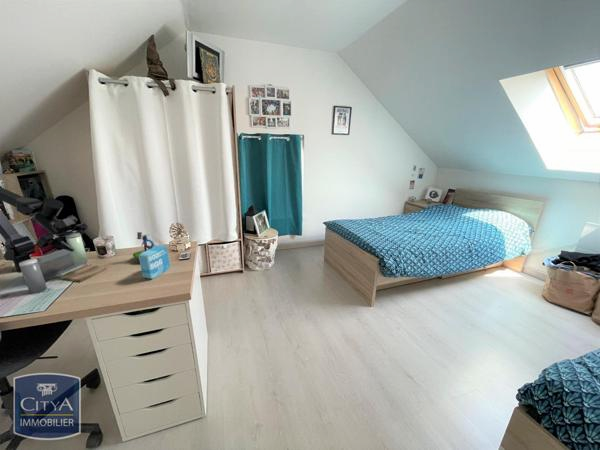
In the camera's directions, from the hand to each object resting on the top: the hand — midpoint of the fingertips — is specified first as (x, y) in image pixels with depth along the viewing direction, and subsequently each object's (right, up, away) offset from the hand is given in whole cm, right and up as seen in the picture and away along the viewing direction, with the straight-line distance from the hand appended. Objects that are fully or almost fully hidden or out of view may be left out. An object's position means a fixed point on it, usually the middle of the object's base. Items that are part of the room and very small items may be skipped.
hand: (79, 248), depth 110 cm
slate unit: (-15, -11, +6) cm, 20 cm away
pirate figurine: (+19, -7, +20) cm, 29 cm away
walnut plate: (-1, -12, +4) cm, 13 cm away
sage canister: (-1, -6, +2) cm, 7 cm away
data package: (+32, -12, +6) cm, 35 cm away
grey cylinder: (-9, -16, -9) cm, 21 cm away
